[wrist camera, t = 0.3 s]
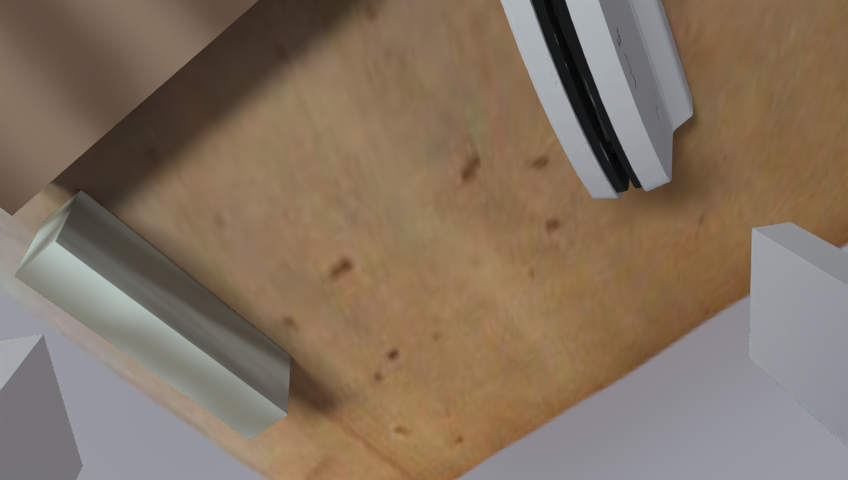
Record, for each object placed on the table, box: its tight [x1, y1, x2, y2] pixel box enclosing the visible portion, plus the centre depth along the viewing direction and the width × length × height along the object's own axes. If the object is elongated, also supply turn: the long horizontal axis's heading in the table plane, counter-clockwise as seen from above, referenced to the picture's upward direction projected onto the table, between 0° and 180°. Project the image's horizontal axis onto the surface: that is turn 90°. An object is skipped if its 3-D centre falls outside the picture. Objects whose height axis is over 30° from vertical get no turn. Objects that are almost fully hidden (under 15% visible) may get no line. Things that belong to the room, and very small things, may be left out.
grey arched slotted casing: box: [501, 0, 693, 199], centre depth 36 cm, size 17×5×10 cm, turn 26°
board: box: [0, 0, 291, 440], centre depth 38 cm, size 32×26×5 cm
